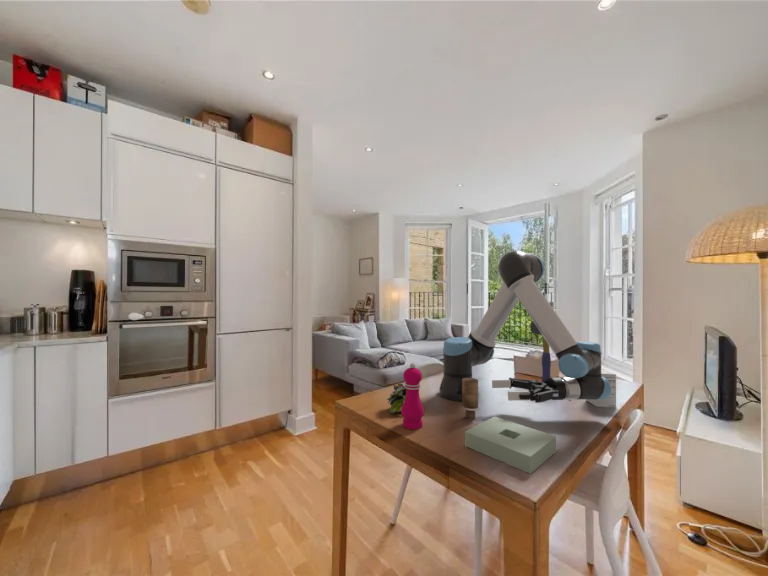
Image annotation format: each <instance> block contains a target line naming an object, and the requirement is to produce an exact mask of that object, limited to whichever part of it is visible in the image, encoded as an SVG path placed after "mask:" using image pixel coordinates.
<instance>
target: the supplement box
mask: <svg viewBox="0 0 768 576" xmlns="http://www.w3.org/2000/svg"><path fill="white" fill-rule="evenodd" d="M601 375H602V377H605V378H606V379H607V380H608V381H609V383H610V384H609V385H610V386H611V394H610V396H609V397H608V398H605V399H597V400H593V399H585V401H587V402H588V403H591V404H592V405H593V406H595V407H597V408H617V374H616V373H613V372H611V371H609V370H606V369H603V368H601Z"/></svg>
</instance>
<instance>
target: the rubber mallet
mask: <svg viewBox="0 0 768 576" xmlns="http://www.w3.org/2000/svg"><path fill="white" fill-rule="evenodd" d="M529 328H530V331H531V333H532V334H535V335H539V336H542V337H543V335H542V334H541V332H540V331H539V329H538V328H537V326H536V325H535V323H534V322H533V320H532V321H531V323H530V327H529ZM542 343H543V346H542V355H541V367H542V373H541V374H542V376H541V382H543V383H544V382H545V381H546V379H547V378H548V377H551V365H552V359H551V358H552V357H551V353H550V346H549V344H548V343H547V341H546V340H545V338H544V337H543V340H542Z"/></svg>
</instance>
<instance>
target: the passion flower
mask: <svg viewBox="0 0 768 576" xmlns="http://www.w3.org/2000/svg"><path fill="white" fill-rule="evenodd" d="M391 392H392V393H390V394H389V397H387V398H386V400H387V401H388V404H389V405H390V408H389V414H390V415H392V414H394V413H399V412H401V411H402V406H403V403H404V401H405V398H406V388H405V384H404V383H397V384H394V385H393V391H391Z"/></svg>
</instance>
